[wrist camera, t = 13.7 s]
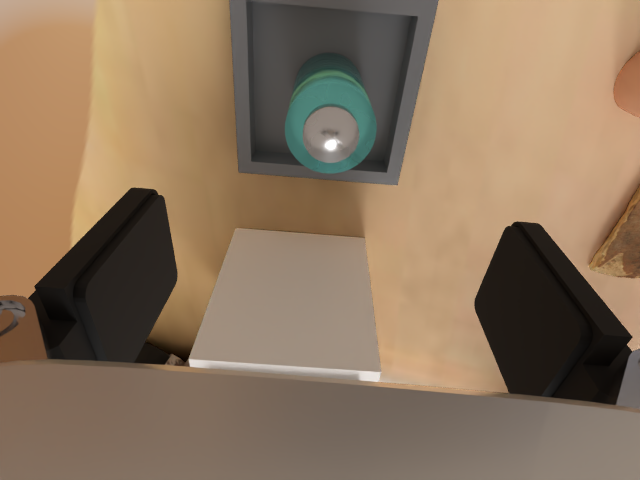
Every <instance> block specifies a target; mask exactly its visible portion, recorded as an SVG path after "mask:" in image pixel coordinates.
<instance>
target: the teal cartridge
mask: <svg viewBox="0 0 640 480" xmlns="http://www.w3.org/2000/svg"><path fill="white" fill-rule="evenodd" d="M376 131H377V125H376V118H375V114H374V111H373V109H372V106H371V103H370V100H369V98H368V95H367V92H366V90H365V87H364V84H363V81H362V79H361V76H360V73H359V71H358V69H357V68H356V66H355V65H354V64H353V63H352V62H351V61H350V60H349V59H347V58H346V57H344V56H342V55H339V54H336V53H322V54H318V55H316V56H314V57H312V58H310V59H309V60H308V61H306V62H305V63H304V64H303V66H302V67H301V68H300V70H299V72H298V74H297V76H296V79H295V83H294V88H293V92H292V96H291V100H290V104H289V108H288V112H287V117H286V121H285V137H286V141H287V144H288V147H289V149H290V151H291V152H292V154H293V156H294V157H295V158H296V159H297V160H298V161H299V162H300V163H301V164H303V165H304V166H305V167H307V168H309V169H311V170H313V171H316V172H320V173H327V174H333V173H340V172H344V171H347V170H349V169H351V168H353V167H355V166H356V165H358V164H359V163H360V162H361V161H363V160H364V158H365V157H366V156H367V155H368V153H369V152H370V150H371V148H372V147H373V144H374V141H375V138H376Z"/></svg>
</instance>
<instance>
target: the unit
mask: <svg viewBox="0 0 640 480" xmlns="http://www.w3.org/2000/svg"><path fill="white" fill-rule="evenodd" d="M189 364H190V367H198V368H210V369H223V370H236V371H249V372H262V373H275V374H287V375H300V376H312V377H324V378H336V379H348V380H360V381H372V382H379V379H380V375H381V366H380V357H379V349H378V341H377V333H376V325H375V317H374V309H373V301H372V292H371V284H370V276H369V268H368V260H367V252H366V244H365V238H361V237H348V236H335V235H322V234H309V233H296V232H283V231H270V230H257V229H244V228H235V231H234V234H233V237H232V239H231V242H230V245H229V248H228V251H227V253H226V256H225V259H224V262H223V264H222V267H221V270H220V273H219V276H218V278H217V281H216V284H215V287H214V289H213V292H212V295H211V298H210V301H209V303H208V306H207V309H206V312H205V315H204V317H203V320H202V323H201V326H200V328H199V331H198V334H197V337H196V340H195V342H194V345H193V348H192V351H191V353H190V356H189Z"/></svg>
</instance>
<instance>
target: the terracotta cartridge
mask: <svg viewBox="0 0 640 480" xmlns="http://www.w3.org/2000/svg"><path fill="white" fill-rule="evenodd" d="M614 99H615V102H616V104H617V105H618V106H619V107H620V108H621V109H623V110H625V111H627V112H629V113H631V114H633V115H635V116H637V117H639V118H640V51H639V52H638V53H636V54H635V55H634V56H633V57H632V58H631V59H630V60H629V61H628V62H627V63H626V64H625V65H624V67H623V68H622V69H621V71H620V73H619V75H618V77H617V79H616V82H615V85H614Z"/></svg>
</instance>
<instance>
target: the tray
mask: <svg viewBox="0 0 640 480" xmlns="http://www.w3.org/2000/svg"><path fill="white" fill-rule="evenodd" d="M229 1H230V20H231V39H232V58H233V77H234V96H235V115H236V134H237V152H238V171H239V173H251V174H263V175H276V176H288V177H300V178H313V179H325V180H337V181H350V182H362V183H374V184H386V185H398V180H399V176H400V171H401V167H402V162H403V158H404V153H405V149H406V144H407V140H408V135H409V131H410V126H411V122H412V117H413V113H414V108H415V104H416V99H417V95H418V90H419V86H420V81H421V77H422V72H423V68H424V63H425V59H426V54H427V50H428V45H429V41H430V36H431V32H432V27H433V23H434V18H435V14H436V9H437V5H438V0H229ZM322 53H336V54H339V55H342V56H344V57H346V58H347V59H349V60H350V61H351V62H352V63H353V64H354V65H355V66H356V68H357V69H358V71H359V73H360V76H361V79H362V81H363V84H364V87H365V90H366V92H367V95H368V98H369V100H370V103H371V106H372V109H373V111H374V114H375V118H376V125H377V131H376V138H375V141H374V144H373V147H372V148H371V150H370V152H369V153H368V155H367V156H366V157H365V158H364V160H363V161H361V162H360V163H359V164H358V165H356V166H355V167H353V168H351V169H349V170H347V171H344V172H340V173H333V174H327V173H320V172H316V171H313V170H311V169H309V168H307V167H305V166H304V165H303V164H301V163H300V162H299V161H298V160H297V159H296V158H295V157H294V156H293V154H292V152H291V151H290V149H289V147H288V144H287V141H286V137H285V121H286V117H287V112H288V108H289V104H290V100H291V96H292V92H293V88H294V83H295V79H296V76H297V74H298V72H299V70H300V68H301V67H302V66H303V64H304V63H305V62H306V61H308V60H309V59H310V58H312V57H314V56H316V55H318V54H322Z"/></svg>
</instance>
